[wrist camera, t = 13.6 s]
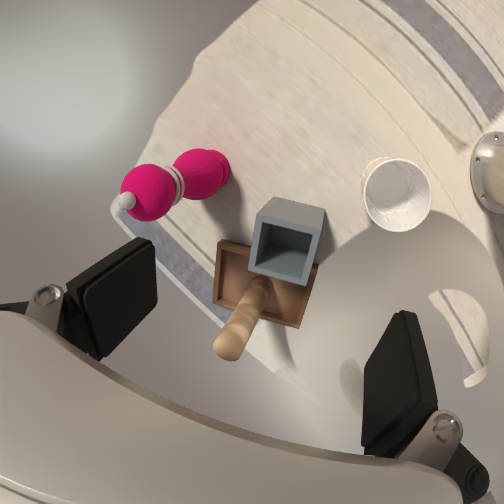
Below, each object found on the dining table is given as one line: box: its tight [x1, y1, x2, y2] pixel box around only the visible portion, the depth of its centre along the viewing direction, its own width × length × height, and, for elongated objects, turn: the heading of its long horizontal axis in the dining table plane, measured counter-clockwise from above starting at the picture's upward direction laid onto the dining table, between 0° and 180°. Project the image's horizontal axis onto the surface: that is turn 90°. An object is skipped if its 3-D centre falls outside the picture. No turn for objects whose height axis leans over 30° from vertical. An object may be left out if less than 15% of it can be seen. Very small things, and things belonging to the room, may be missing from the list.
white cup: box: [361, 157, 432, 232], centre depth 29 cm, size 8×8×10 cm
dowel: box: [213, 275, 273, 361], centre depth 38 cm, size 4×4×16 cm
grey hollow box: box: [248, 197, 325, 286], centre depth 36 cm, size 8×8×9 cm
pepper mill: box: [118, 149, 230, 221], centre depth 31 cm, size 7×7×20 cm
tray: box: [213, 239, 318, 329], centre depth 45 cm, size 16×12×2 cm
